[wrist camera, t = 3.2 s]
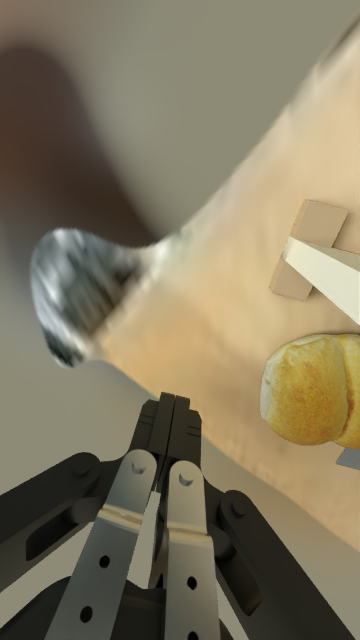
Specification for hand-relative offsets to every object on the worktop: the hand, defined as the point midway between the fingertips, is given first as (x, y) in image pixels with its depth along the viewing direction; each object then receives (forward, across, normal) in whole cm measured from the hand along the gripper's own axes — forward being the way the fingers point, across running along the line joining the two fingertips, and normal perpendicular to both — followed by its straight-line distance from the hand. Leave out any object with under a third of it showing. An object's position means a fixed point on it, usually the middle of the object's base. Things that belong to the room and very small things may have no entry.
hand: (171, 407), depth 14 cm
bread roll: (+6, -10, 0) cm, 12 cm away
